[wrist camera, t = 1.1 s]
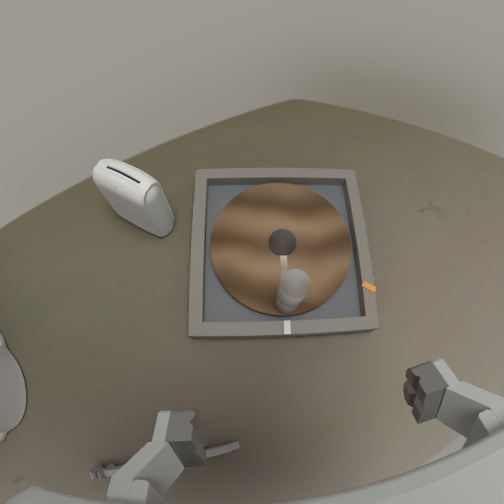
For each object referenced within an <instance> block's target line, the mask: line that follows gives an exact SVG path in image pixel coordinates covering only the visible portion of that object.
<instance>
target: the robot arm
mask: <svg viewBox="0 0 504 504" xmlns="http://www.w3.org/2000/svg"><path fill="white" fill-rule="evenodd" d="M406 377H407V381H406V382H405V383H404V388H403V391H404V397H405V400H406V402H407V404H408V405H409V406H411V407H413V410H412V414H413V416H414V418H415V420H416V421H417V423H418V424H419V423H422V422H425V421H428V420H431V419H434V418H436V419H437V420H439V421H441V422H442V423H444V424H445V425H447V426H448V427H450V428H452V429H453V430H455V431H456V432H458V433H460V434H461V435H463V436H464V437H466V438H467V440H466V442H465V444H464V446H463V447H462V449H461V450H459V451H457V452H455V453H452V454H450V455H448V456H445V457H443V458H441V459H439V460H436V461H434V462H431V463H429V464H426V465H424V466H421V467H418V468H416V469H413V470H410V471H407V472H405V473H402V474H399V475H396V476H393V477H390V478H387V479H383V480H380V481H377V482H373V483H370V484H366V485H363V486H359V487H355V488H351V489H347V490H343V491H339V492H335V493H330V494H325V495H320V496H315V497H310V498H304V499H299V500H292V501H286V502H278V503H270V504H504V398H503V397H501V396H498V395H496V394H493V393H491V392H488V391H486V390H483V389H481V388H478V387H476V386H473V385H471V384H468V383H466V382H464V381H462V382H459V380H458V379H457V378H456V376H455V375H454V373H453V372H452V371H451V369H450V368H449V367H448V365H447V364H446V363H445V361H444V360H443V359H442V358H438V359H435V360H432V361H430V362H426V363H423V364H420V365H417V366H414V367H411V368H408V369H407V371H406ZM25 407H26V387H25V382H24V378H23V374H22V371H21V369H20V367H19V365H18V363H17V361H16V360H15V358H14V357H13V355H12V354H11V353H10V352H9V350H8V349H7V346H6V343H5V340H4V338H3V336H2V334H1V333H0V441H3V440H4V439H5V437H6V435H7V433H8V431H10V430H11V429H13V428H14V427H16V426H17V425H18V424H19V422H20V421H21V419H22V417H23V415H24V412H25ZM206 444H207V430H206V426H205V424H204V422H203V421H201V420H200V413H199V411H198V409H189V410H165V411H160V412H159V413H158V415H157V420H156V424H155V429H154V433H153V437H152V442H148V443H147V444H146V445H145V446H144V447H143V448H142V449H140V450H139V451H138V452H137V453H136V454H135V455H134V456H133V457H132V458H131V459H130V460H129V461H128V462H127V463H126V464H125V465H123V466H122V467H121V468H120V469H119V470H118V471H117V472H116V473H115V474H114V475H113V476H112V477H111V481H110V484H109V488H108V492H107V496H106V500H105V501H103V500H97V499H91V498H86V497H80V496H76V495H71V494H66V493H62V492H58V491H54V490H50V489H46V488H43V487H39V486H29V487H27V488H25V489H24V490H22V491H21V492H19V493H17V494H16V495H15V496H13V497H12V498H10V499H9V500H7V501H6V502H5V504H168V503H167V502H166V501H165V500H164V499H163V498H162V497H163V496H164V495H165V494H166V492H167V491H168V490H169V488H170V487H171V486H172V484H173V483H174V482H175V481H176V479H177V478H178V477H179V475H180V474H181V473H182V471H183V470H184V469H185V467H193V466H206V450H205V449H204V446H205V445H206Z"/></svg>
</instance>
